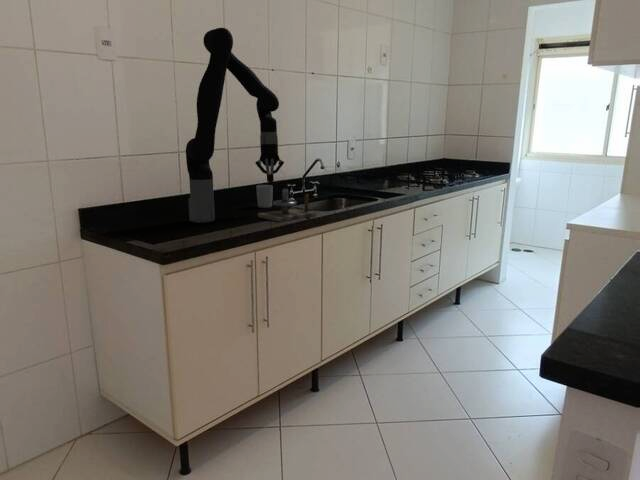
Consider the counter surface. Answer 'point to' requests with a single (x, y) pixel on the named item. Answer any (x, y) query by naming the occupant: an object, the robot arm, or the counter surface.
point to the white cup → (264, 195)
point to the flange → (285, 200)
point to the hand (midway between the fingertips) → (270, 182)
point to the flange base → (288, 213)
